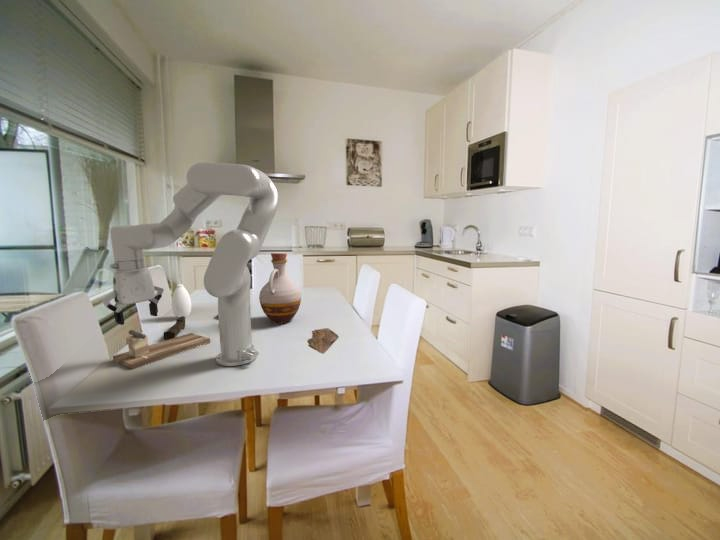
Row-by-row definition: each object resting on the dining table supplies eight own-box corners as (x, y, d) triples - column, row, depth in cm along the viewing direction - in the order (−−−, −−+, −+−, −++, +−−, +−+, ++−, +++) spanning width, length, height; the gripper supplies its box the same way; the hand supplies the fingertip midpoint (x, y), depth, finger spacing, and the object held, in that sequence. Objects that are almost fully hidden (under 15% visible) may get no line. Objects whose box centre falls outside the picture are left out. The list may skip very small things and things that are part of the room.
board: (210, 342, 124) (210, 338, 123) (132, 369, 102) (131, 364, 102) (191, 336, 130) (190, 332, 130) (113, 360, 108) (112, 355, 108)
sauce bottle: (173, 321, 148) (170, 281, 146) (172, 317, 155) (168, 278, 152) (193, 319, 153) (190, 279, 150) (191, 314, 159) (188, 276, 156)
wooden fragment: (313, 329, 139) (313, 326, 139) (340, 329, 139) (340, 326, 139) (302, 354, 114) (302, 351, 113) (335, 354, 114) (335, 351, 113)
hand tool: (175, 341, 126) (174, 329, 125) (163, 341, 125) (162, 329, 125) (191, 325, 144) (190, 314, 144) (181, 325, 144) (180, 315, 143)
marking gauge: (152, 354, 109) (150, 332, 107) (138, 359, 105) (136, 336, 104) (139, 349, 113) (137, 328, 112) (126, 353, 109) (123, 331, 108)
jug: (292, 329, 138) (289, 255, 133) (251, 327, 140) (247, 255, 136) (307, 315, 157) (305, 250, 152) (270, 314, 160) (267, 250, 155)
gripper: (102, 270, 95) (112, 329, 98) (165, 262, 110) (171, 314, 112) (91, 269, 99) (100, 326, 102) (153, 261, 114) (159, 311, 116)
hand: (138, 319), depth 107 cm, fingers open, 9 cm apart
